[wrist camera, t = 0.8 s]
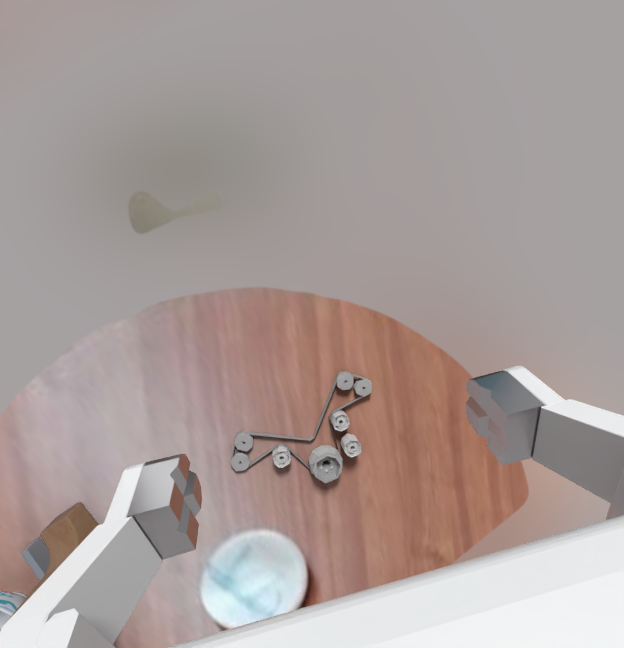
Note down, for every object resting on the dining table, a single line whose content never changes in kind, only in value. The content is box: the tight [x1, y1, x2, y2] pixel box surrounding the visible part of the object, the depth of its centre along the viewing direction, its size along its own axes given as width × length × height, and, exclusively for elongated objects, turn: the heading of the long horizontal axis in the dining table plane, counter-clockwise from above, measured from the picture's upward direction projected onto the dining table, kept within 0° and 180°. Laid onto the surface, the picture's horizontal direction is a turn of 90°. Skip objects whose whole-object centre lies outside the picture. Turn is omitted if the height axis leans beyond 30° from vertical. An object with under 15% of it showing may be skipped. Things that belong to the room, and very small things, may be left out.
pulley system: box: [231, 371, 372, 483], centre depth 61 cm, size 27×5×15 cm
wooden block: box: [0, 502, 99, 631], centre depth 48 cm, size 9×4×18 cm, turn 34°
